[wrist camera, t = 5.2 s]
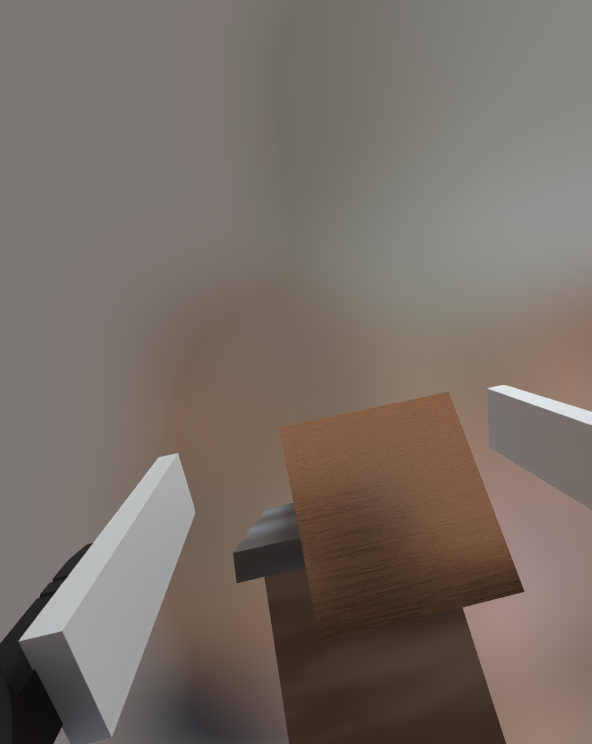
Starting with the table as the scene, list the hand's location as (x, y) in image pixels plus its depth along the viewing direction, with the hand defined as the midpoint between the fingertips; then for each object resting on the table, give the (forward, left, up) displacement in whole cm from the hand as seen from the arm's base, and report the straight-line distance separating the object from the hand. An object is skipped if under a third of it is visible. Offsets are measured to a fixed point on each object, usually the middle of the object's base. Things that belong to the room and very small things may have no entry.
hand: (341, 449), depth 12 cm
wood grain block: (-5, +3, -3) cm, 7 cm away
